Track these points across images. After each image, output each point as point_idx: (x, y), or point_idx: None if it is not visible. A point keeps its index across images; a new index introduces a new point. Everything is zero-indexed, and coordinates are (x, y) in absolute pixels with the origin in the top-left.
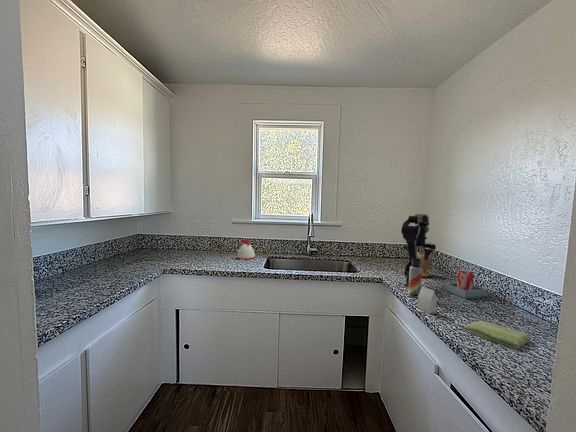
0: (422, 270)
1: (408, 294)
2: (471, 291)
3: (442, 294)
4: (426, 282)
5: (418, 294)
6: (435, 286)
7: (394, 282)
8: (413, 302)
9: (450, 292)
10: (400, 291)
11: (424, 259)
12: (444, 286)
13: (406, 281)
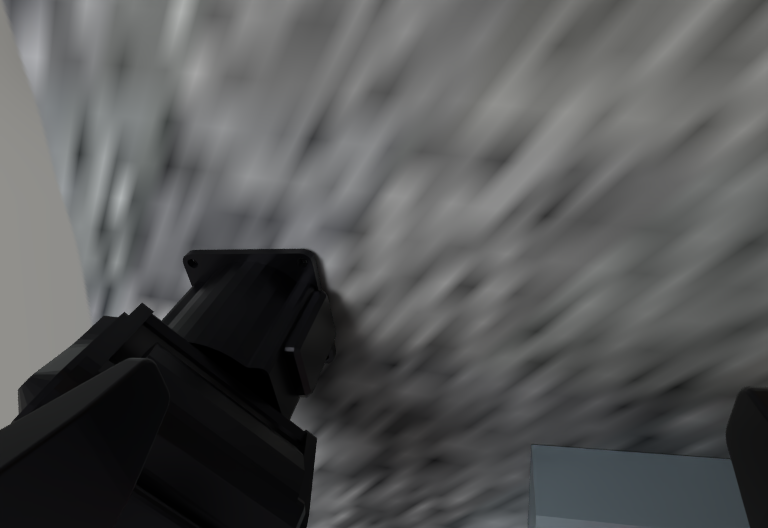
0: (305, 507)
1: None
2: None
3: (431, 496)
4: (587, 179)
5: None
6: (561, 341)
7: (100, 120)
8: None
9: (529, 507)
10: None
11: (759, 401)
12: (533, 491)
13: (170, 315)
